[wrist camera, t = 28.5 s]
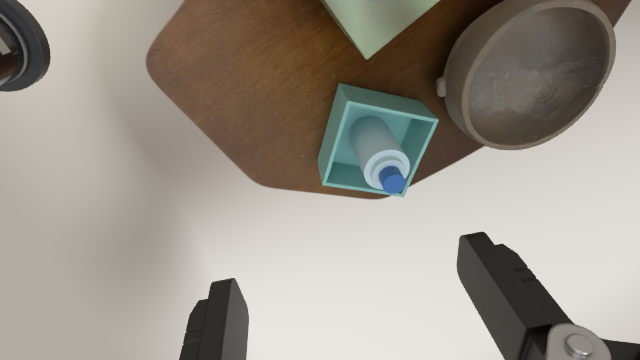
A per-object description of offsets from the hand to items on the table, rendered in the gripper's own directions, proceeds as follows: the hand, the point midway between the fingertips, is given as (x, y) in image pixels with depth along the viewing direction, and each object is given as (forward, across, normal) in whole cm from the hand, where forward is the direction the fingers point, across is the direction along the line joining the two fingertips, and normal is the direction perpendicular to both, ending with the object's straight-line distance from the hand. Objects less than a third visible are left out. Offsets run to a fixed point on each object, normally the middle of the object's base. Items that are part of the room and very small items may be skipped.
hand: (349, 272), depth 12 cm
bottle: (+36, -8, +14) cm, 39 cm away
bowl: (+36, -25, +6) cm, 45 cm away
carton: (+36, -8, +14) cm, 39 cm away
